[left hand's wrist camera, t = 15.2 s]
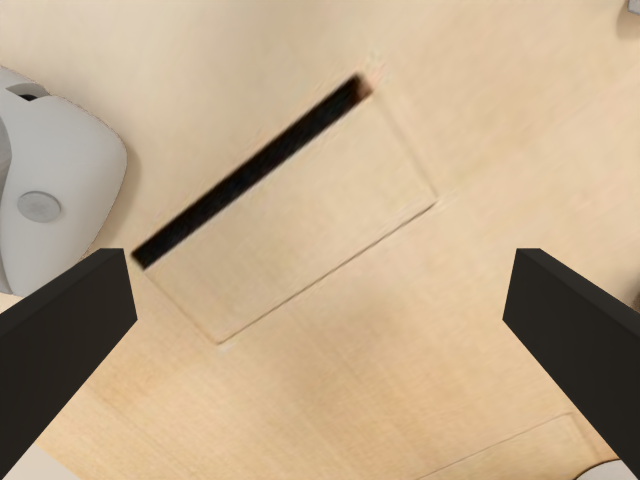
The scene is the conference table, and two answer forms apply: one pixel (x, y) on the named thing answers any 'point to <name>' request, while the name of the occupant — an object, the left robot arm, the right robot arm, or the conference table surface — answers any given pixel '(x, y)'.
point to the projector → (50, 182)
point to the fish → (634, 6)
